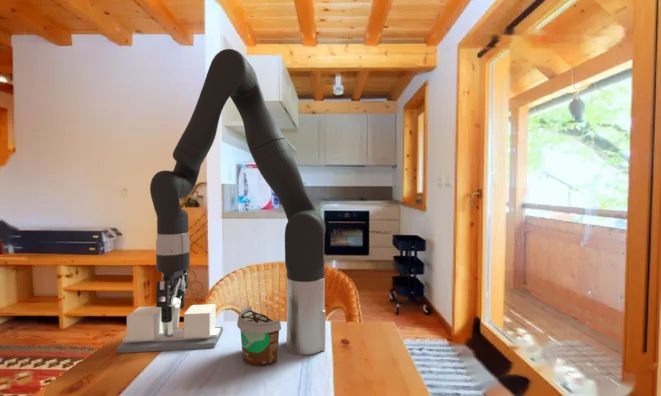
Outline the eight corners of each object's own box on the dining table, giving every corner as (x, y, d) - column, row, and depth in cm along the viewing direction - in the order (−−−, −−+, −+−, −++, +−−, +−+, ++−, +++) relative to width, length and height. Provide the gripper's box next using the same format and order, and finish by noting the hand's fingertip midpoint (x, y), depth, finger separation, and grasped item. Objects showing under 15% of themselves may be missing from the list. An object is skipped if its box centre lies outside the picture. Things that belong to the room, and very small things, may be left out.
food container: (226, 355, 72) (226, 312, 72) (249, 345, 76) (249, 305, 76) (257, 377, 63) (257, 329, 63) (281, 365, 68) (281, 320, 68)
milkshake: (175, 340, 75) (174, 299, 75) (156, 337, 76) (155, 297, 76) (187, 331, 79) (187, 292, 79) (169, 329, 80) (169, 291, 80)
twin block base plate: (222, 331, 84) (222, 301, 84) (214, 347, 75) (214, 315, 75) (136, 335, 81) (135, 305, 81) (116, 353, 72) (116, 319, 72)
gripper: (178, 256, 71) (179, 326, 71) (197, 245, 85) (197, 303, 86) (143, 257, 70) (144, 328, 71) (168, 246, 84) (169, 305, 85)
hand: (173, 314), depth 78 cm, fingers open, 8 cm apart
